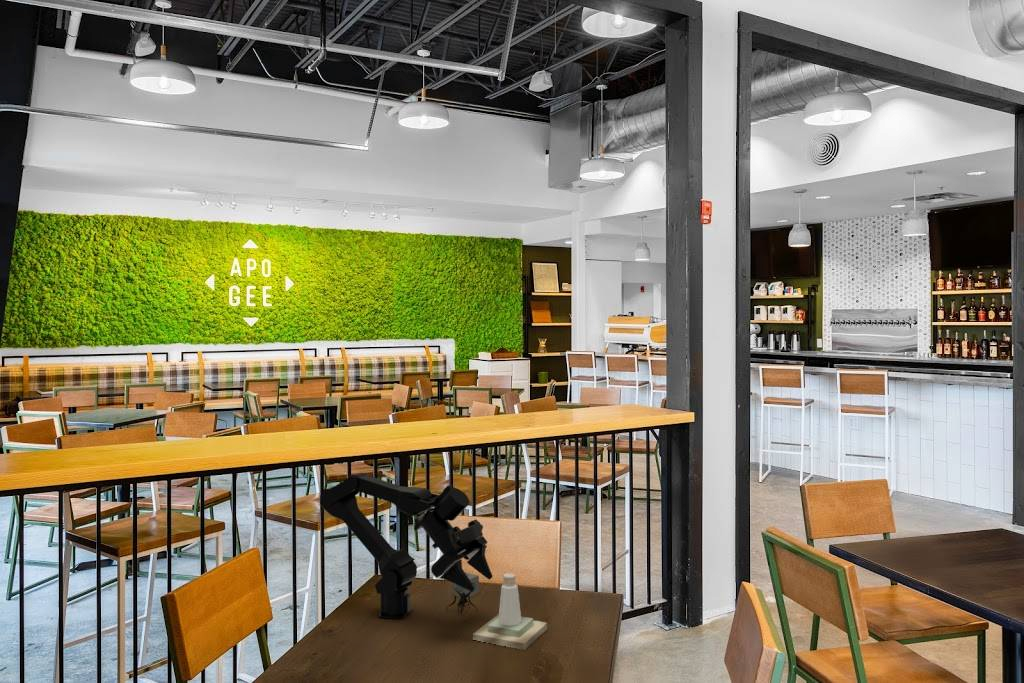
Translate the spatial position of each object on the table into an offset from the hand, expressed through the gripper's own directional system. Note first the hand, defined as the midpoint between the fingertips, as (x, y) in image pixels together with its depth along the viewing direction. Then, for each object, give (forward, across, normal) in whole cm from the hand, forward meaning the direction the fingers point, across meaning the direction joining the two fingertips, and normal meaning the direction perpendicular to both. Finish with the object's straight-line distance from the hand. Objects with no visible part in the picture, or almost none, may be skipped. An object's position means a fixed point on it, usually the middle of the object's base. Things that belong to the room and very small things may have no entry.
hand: (482, 584), depth 177 cm
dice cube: (-3, +20, +19) cm, 27 cm away
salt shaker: (+11, 0, +1) cm, 11 cm away
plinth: (+13, 0, +2) cm, 13 cm away
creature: (0, +9, +16) cm, 18 cm away
